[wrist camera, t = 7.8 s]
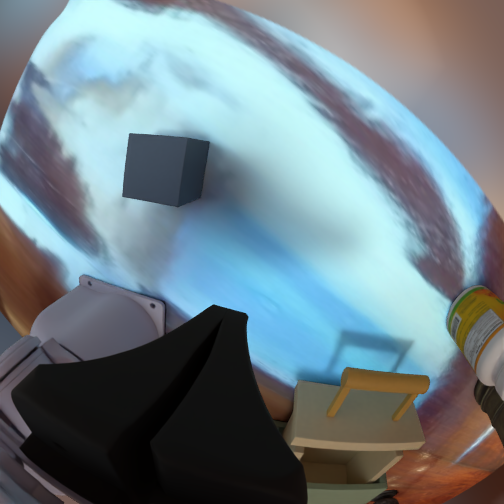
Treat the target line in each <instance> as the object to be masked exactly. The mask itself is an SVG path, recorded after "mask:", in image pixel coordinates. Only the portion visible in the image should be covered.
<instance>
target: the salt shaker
mask: <svg viewBox="0 0 504 504" xmlns="http://www.w3.org/2000/svg"><path fill="white" fill-rule="evenodd" d="M396 494H397V491H396V490H389V491H384V492H382V493H380V494H379V495H378V496H376V497H375V498H373V499H372V500H371V501H374V502H375V503H374V504H399V503H398V501H397V499H395V498H392V497H393V496H395V495H396Z"/></svg>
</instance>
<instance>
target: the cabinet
mask: <svg viewBox="0 0 504 504" xmlns="http://www.w3.org/2000/svg"><path fill="white" fill-rule="evenodd" d="M273 421H274V423H275V425H276V427H277V429H278V430H279V432H280V433H281V435H282V433H283V431H284V429H285V427H286V425H287V422H281V421H275V420H273ZM386 482H387V480H386V473H384V474H383V475H382V476H381V477H379V478H378V479H377V480H376V481H375V482H373V483H372V484H324V483H308V482H307V491H308V503H307V504H366V503H368V502H369V501H370V500H372V499H373V498H375V497H376V496H378V495H379V494H380V493H382V492H383V491H385V490H386V489H387V483H386Z"/></svg>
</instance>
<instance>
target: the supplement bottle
mask: <svg viewBox="0 0 504 504" xmlns="http://www.w3.org/2000/svg"><path fill="white" fill-rule="evenodd" d="M447 329H448V332H449V334H450V336H451V337H452V339H453V340H454V341H455V343H456V344H457V346H458V347H459V349H460V350H461V352H462V353H463V355H464V356H465V358H466V359H467V361H468V362H469V364H470V366H471V367H472V369H473V370H474V372H475V374H476V375H477V377H478V378H479V380H480V381H481V382H482V383H483V384H484V385H487V386H495V388H496V391H497V393H498V394H499V395H500V397H501V399H502V400H503V401H504V302H503V301H502V300H501V299H499V298H498V297H497V296H496V295H495V294H494V293H493V292H492V291H490V290H489V289H488V288H486V287H485V286H481V285H475V286H472V287H469V288H467V289H466V290H464V291H463V292H462V293H461V294H460V295H459V296H458V297H457V298H456V300H455V301H454V302H453V304H452V306H451V308H450V310H449V313H448V316H447Z"/></svg>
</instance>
